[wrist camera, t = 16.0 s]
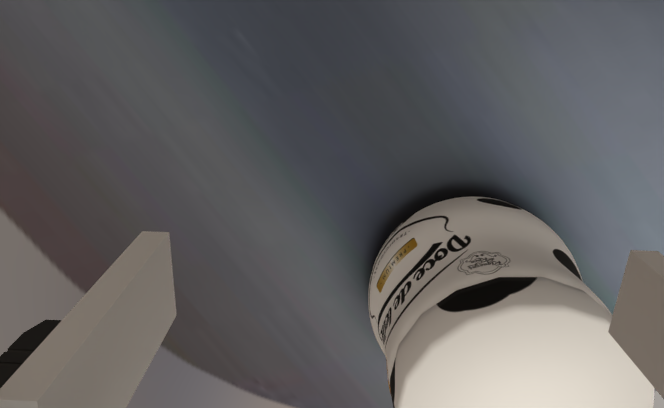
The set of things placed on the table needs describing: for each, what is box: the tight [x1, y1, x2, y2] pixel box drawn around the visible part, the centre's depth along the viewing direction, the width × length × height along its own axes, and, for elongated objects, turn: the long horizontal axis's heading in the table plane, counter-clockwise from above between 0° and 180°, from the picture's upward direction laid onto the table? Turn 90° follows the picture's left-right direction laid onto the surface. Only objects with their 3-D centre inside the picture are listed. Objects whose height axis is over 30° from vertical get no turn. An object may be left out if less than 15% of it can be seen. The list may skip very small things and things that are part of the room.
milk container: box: [368, 197, 654, 408], centre depth 38 cm, size 17×17×18 cm
